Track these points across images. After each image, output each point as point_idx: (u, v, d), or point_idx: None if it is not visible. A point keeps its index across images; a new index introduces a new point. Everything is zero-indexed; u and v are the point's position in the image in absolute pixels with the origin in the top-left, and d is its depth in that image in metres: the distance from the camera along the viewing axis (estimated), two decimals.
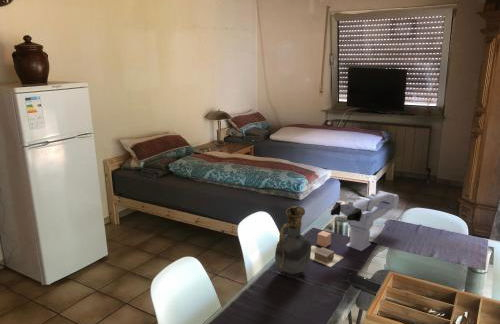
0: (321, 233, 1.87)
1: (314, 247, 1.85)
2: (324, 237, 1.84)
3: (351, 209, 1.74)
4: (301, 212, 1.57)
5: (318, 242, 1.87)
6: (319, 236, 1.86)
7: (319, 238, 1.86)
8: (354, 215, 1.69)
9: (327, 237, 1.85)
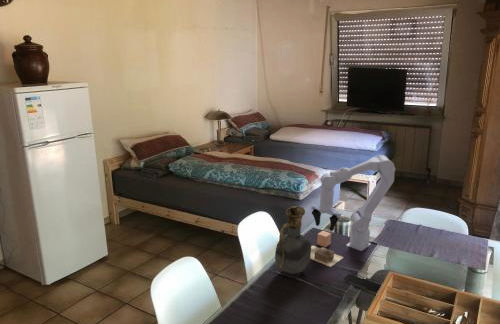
0: (321, 233, 1.87)
1: (314, 247, 1.85)
2: (324, 237, 1.84)
3: None
4: (301, 212, 1.57)
5: (318, 242, 1.87)
6: (319, 236, 1.86)
7: (319, 238, 1.86)
8: None
9: (327, 237, 1.85)
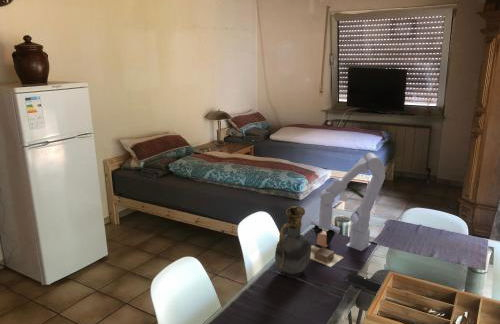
0: (321, 233, 1.87)
1: (314, 247, 1.85)
2: (324, 237, 1.84)
3: None
4: (301, 212, 1.57)
5: (318, 242, 1.87)
6: (319, 236, 1.86)
7: (319, 238, 1.86)
8: None
9: None
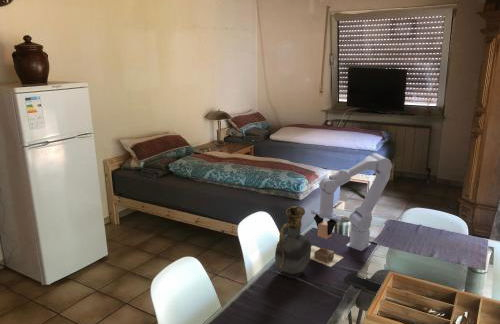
0: (322, 223, 1.81)
1: (314, 247, 1.85)
2: (325, 227, 1.78)
3: None
4: (301, 212, 1.57)
5: (319, 232, 1.81)
6: (320, 226, 1.80)
7: (320, 228, 1.80)
8: None
9: None
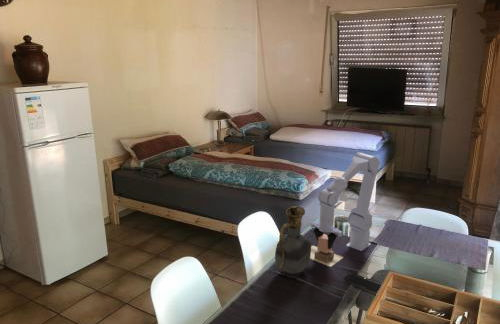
0: (322, 236, 1.73)
1: (314, 247, 1.85)
2: (325, 241, 1.71)
3: None
4: (301, 212, 1.57)
5: (319, 246, 1.73)
6: (320, 240, 1.72)
7: (320, 242, 1.73)
8: None
9: None
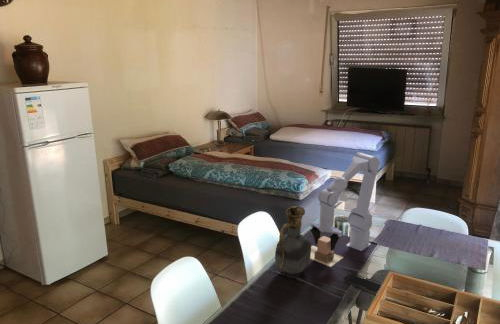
0: (322, 238, 1.73)
1: (314, 247, 1.85)
2: (325, 243, 1.71)
3: None
4: (301, 212, 1.57)
5: (318, 248, 1.74)
6: (319, 242, 1.73)
7: (319, 244, 1.73)
8: None
9: (328, 243, 1.71)
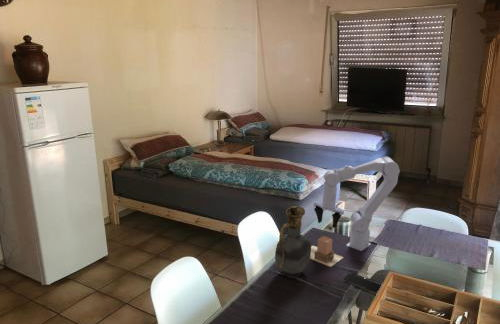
0: (322, 238, 1.73)
1: (314, 247, 1.85)
2: (325, 243, 1.71)
3: None
4: (301, 212, 1.57)
5: (318, 248, 1.74)
6: (319, 242, 1.73)
7: (319, 244, 1.73)
8: None
9: (328, 243, 1.71)
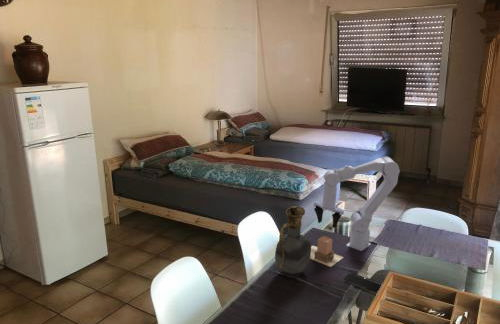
0: (322, 238, 1.73)
1: (314, 247, 1.85)
2: (325, 243, 1.71)
3: None
4: (301, 212, 1.57)
5: (318, 248, 1.74)
6: (319, 242, 1.73)
7: (319, 244, 1.73)
8: None
9: (328, 243, 1.71)
